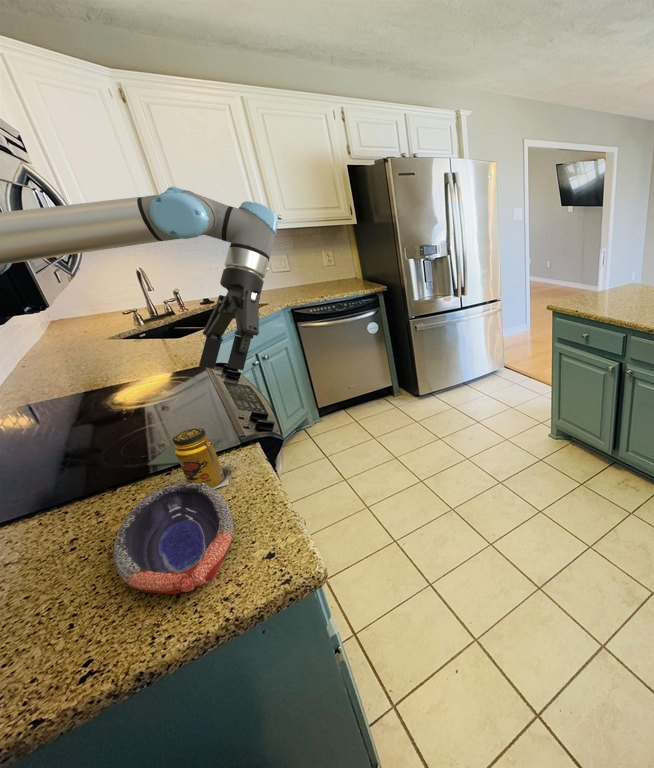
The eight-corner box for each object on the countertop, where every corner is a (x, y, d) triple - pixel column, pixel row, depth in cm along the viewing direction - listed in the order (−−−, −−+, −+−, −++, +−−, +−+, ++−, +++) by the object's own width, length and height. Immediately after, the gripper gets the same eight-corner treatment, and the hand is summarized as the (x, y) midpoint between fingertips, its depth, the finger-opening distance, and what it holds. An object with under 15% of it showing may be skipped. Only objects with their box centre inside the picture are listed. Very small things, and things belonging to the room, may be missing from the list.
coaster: (147, 466, 91) (147, 464, 91) (176, 442, 101) (175, 441, 100) (194, 462, 92) (194, 461, 92) (219, 439, 101) (218, 438, 101)
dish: (222, 485, 84) (214, 465, 82) (254, 578, 63) (245, 554, 61) (123, 521, 75) (112, 499, 73) (121, 644, 54) (105, 618, 52)
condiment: (185, 497, 81) (163, 446, 76) (190, 476, 88) (170, 427, 83) (228, 485, 84) (210, 435, 80) (230, 465, 91) (213, 418, 86)
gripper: (292, 274, 85) (268, 373, 82) (236, 286, 99) (214, 370, 95) (254, 258, 79) (227, 364, 76) (201, 272, 93) (176, 363, 89)
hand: (220, 368), depth 86 cm, fingers open, 13 cm apart
